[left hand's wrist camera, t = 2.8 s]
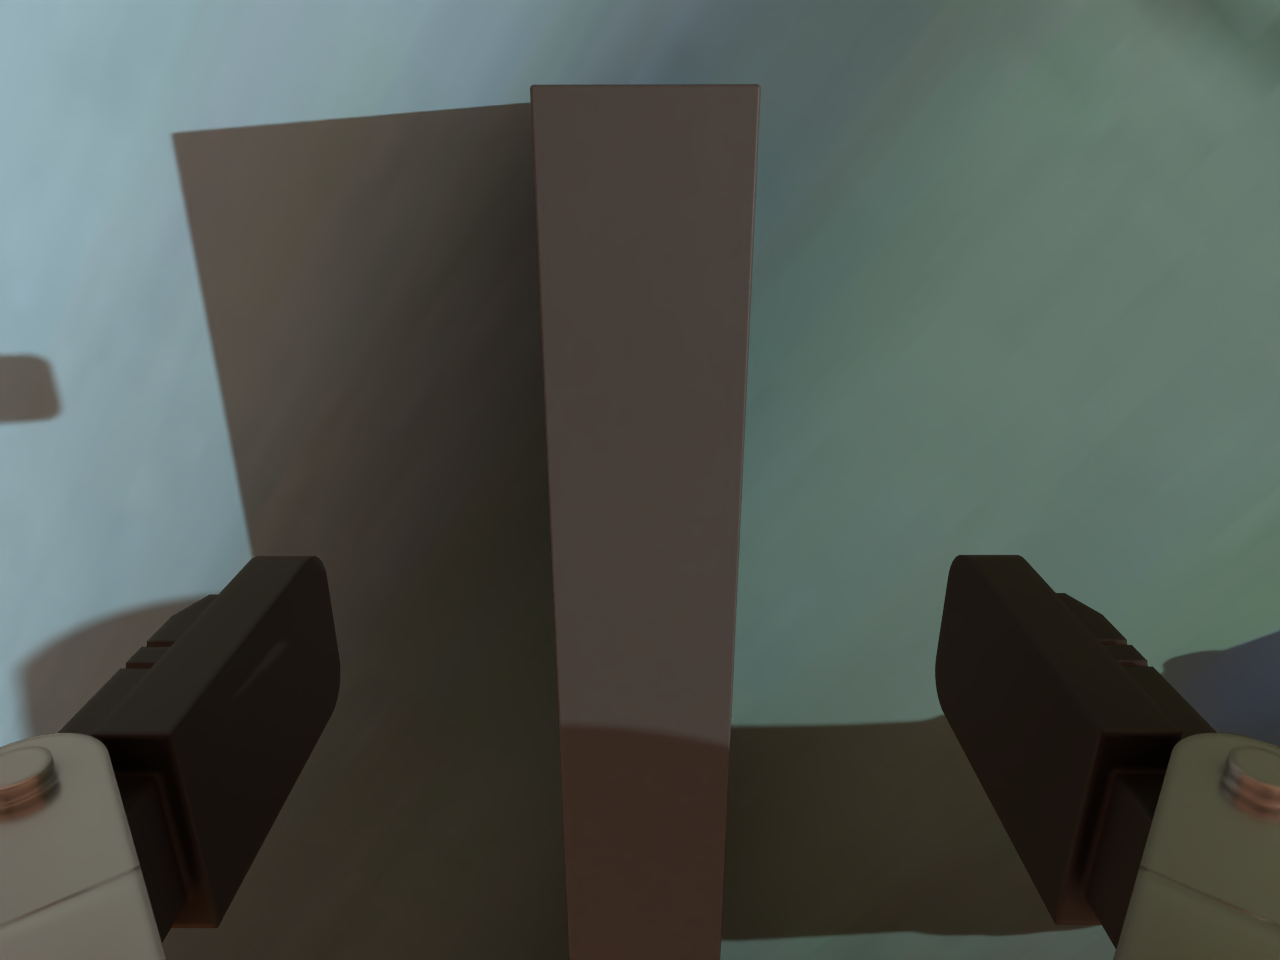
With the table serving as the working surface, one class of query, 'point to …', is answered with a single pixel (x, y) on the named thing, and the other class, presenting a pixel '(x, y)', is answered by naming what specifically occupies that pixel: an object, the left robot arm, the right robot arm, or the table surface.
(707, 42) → the table surface
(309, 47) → the table surface
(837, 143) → the table surface
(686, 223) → the bar
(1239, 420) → the table surface
